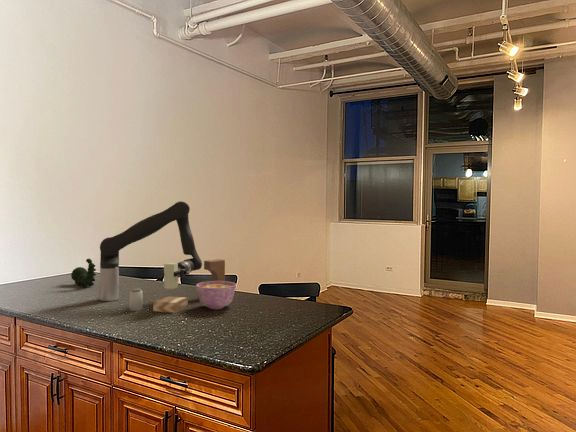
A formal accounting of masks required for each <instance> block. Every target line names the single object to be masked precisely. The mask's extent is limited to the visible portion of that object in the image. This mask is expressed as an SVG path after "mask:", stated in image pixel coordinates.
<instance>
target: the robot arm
mask: <svg viewBox="0 0 576 432" xmlns="http://www.w3.org/2000/svg"><path fill="white" fill-rule="evenodd" d="M190 211H191V210H190V206H189V204H188V203H187V202H185V201H177V202H175V203H174V204H173V205H171V206H169V207H167V208H166V209H165V210H163V211H160V212H158V213H155V214H152V215H150V216H148V217H146V218H144V219H142V220H140V221H137V222H136V223H134V224H132V225H131V226H130V227H128V228H127V229H126V230H125V231H122V232H121V233H118V234H116V235H114V236H110V237H106V238H104V239H103V240H102V241H101V242H100V244H99V250H100V261H99V262H100V263H99V267H100V269H99V274H100V275H99V277H100V278H99V280H100V281H99V282H98V285H97V286H98V289H97V290H98V301H102V302H113V301H118V300H119V299H120V298H119V296H120V293H119V291H120V284H119V283H120V281H119V280H120V279H119V278H120V276H119V275H120V271H119V270H120V267H119V266H120V251H121V250H122V249H124V248H126V247H127V246H130V244H133V243H136V242H138V241H141V240H143V239H145V238H148V237H149V236H151V235H153V234H155V233H156V232H158V231H160V230H162V229H163V228H164V227H166V226H167V225H169V224H170V223H173V222H175V221H176V223H177V227H178V232H179V239H180V243H181V247H182V253H183V255H185V256H191V257H192V258H187V259H184V260H183V261H179V262H177V263H178V271H176V272H174V277H176V276H178V278H182V277H184V276H187V275H190V274H191V272H193V271H194V272H195V271H198V270H200V269H202V267H203V261H202V259H201V258H200V256H199V254H198V252H197V249H196V245H195V240H194V236H193V233H192V230H191V226H190V221H189V219H190V218H189V213H190ZM161 276H162V277H164V268H162V269H161Z"/></svg>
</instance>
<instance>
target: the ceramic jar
mask: <svg viewBox="0 0 576 432" xmlns="http://www.w3.org/2000/svg"><path fill="white" fill-rule="evenodd" d="M143 293H144V291H143V290H142V289H141V288H139V287H138V288H131V290H130V291H129V311H131V312H138V311H142V310H143V299H144V298H143V297H144V296H143V295H144V294H143Z"/></svg>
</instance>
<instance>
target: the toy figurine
mask: <svg viewBox="0 0 576 432" xmlns="http://www.w3.org/2000/svg"><path fill="white" fill-rule="evenodd" d="M85 261H86V263H87V264H88V265H87V269H86V267H85V268H84V267H81V266H80V267H76V268H74V269H73V270H72V272H71V280H73V281H74V284H75V285H76V286H80V287H81V288H84V287H88V286H89V287H93V286H94V285H95V281H96V279H95V276H96V275H97V273H95V271H96V270H97V269H96V268H95V267H96V264H95V263H93V261H92V259H91V258H87V259H86V260H85Z"/></svg>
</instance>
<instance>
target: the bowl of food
mask: <svg viewBox="0 0 576 432" xmlns="http://www.w3.org/2000/svg"><path fill="white" fill-rule="evenodd" d="M195 286H196V291H197V295H198V299H199V302H200V304H201V305H203V306H204V307H207V308H208V309H210V310H221V309H224V308H225V307H227V306H228V305H230V304H231V303H232V301H233V300H234V299H233V298H234V295H235V291H236V287H237V283H235V282H233V281H228V280H227V281H226V280H225V281H212V280H211V281H202V282H198V283H197V284H195Z"/></svg>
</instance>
